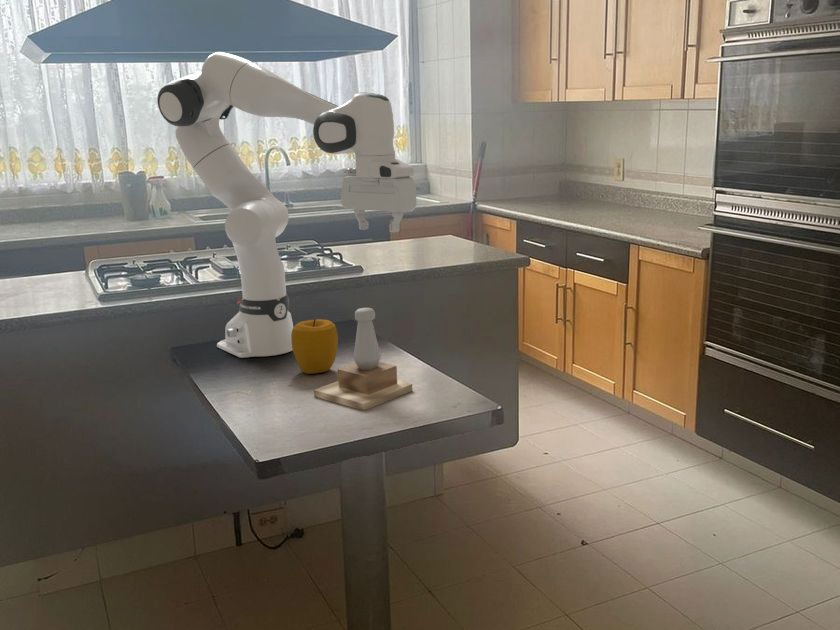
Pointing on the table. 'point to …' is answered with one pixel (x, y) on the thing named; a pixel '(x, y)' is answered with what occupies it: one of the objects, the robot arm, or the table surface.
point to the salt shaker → (366, 340)
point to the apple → (314, 345)
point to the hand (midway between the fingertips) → (378, 230)
